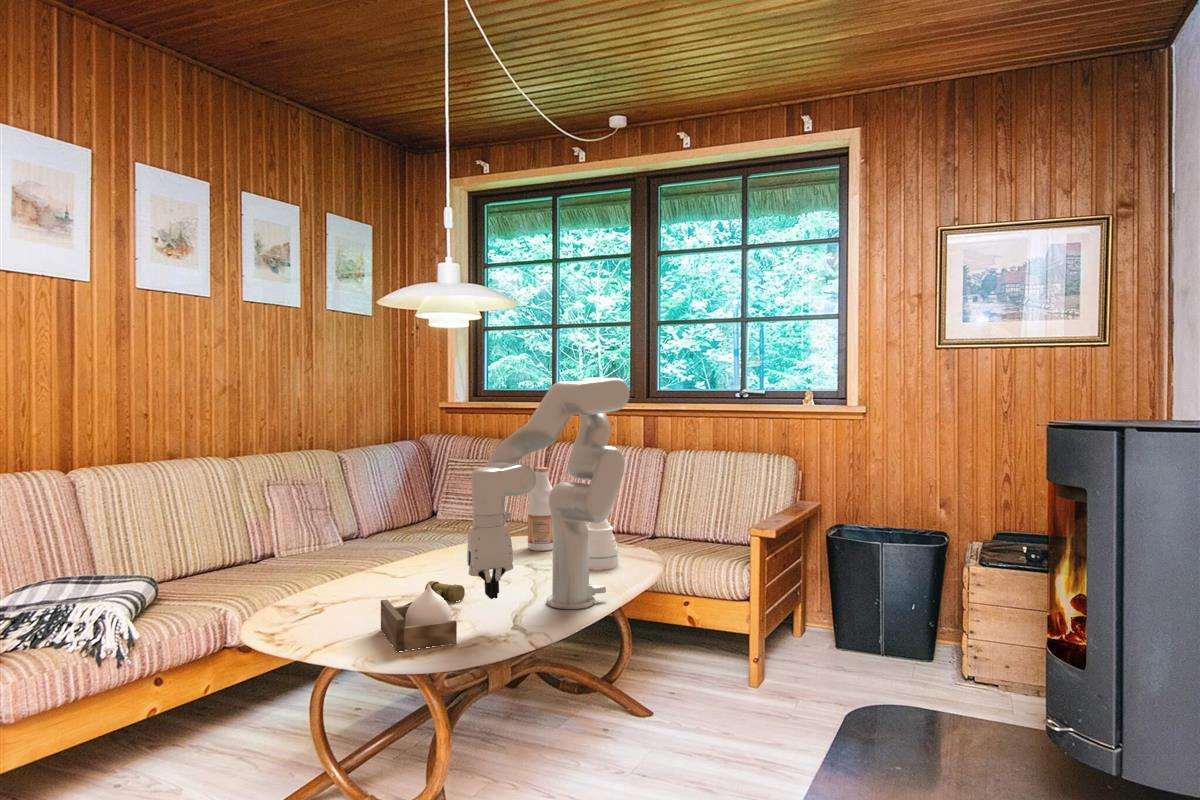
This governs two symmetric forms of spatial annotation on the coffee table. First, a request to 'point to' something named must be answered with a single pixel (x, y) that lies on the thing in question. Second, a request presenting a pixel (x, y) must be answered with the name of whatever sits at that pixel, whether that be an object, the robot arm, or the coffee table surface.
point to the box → (414, 630)
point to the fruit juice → (540, 513)
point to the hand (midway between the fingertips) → (492, 597)
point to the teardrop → (428, 609)
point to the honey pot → (602, 546)
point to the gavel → (446, 591)
